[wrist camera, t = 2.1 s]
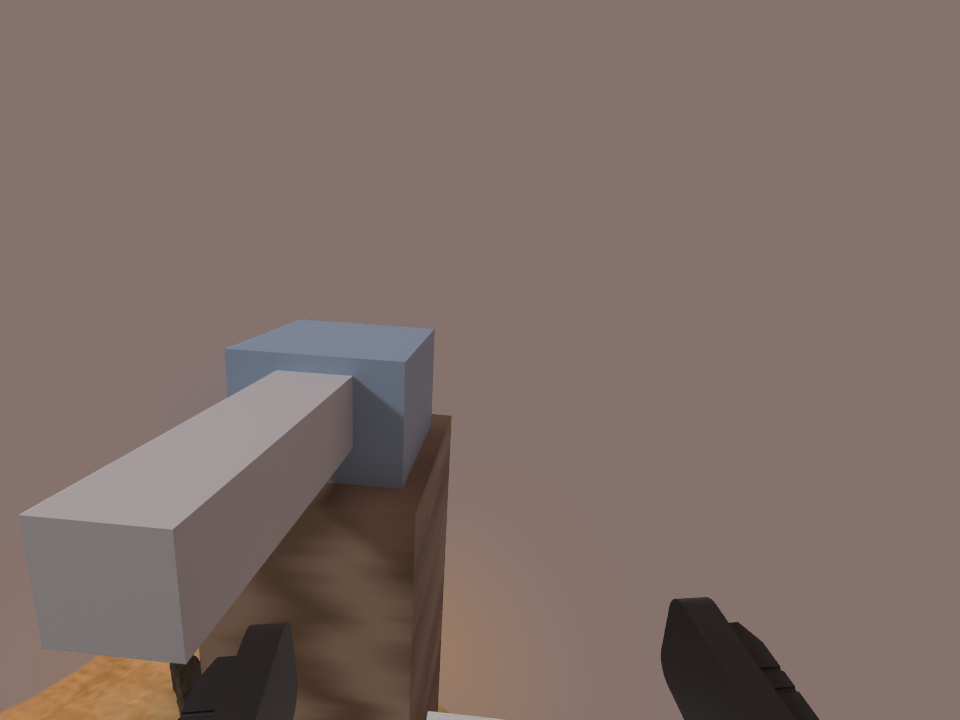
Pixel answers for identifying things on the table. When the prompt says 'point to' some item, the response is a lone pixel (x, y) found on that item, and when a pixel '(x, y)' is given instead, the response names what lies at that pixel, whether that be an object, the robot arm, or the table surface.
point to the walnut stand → (358, 595)
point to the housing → (225, 488)
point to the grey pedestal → (454, 716)
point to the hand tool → (184, 679)
